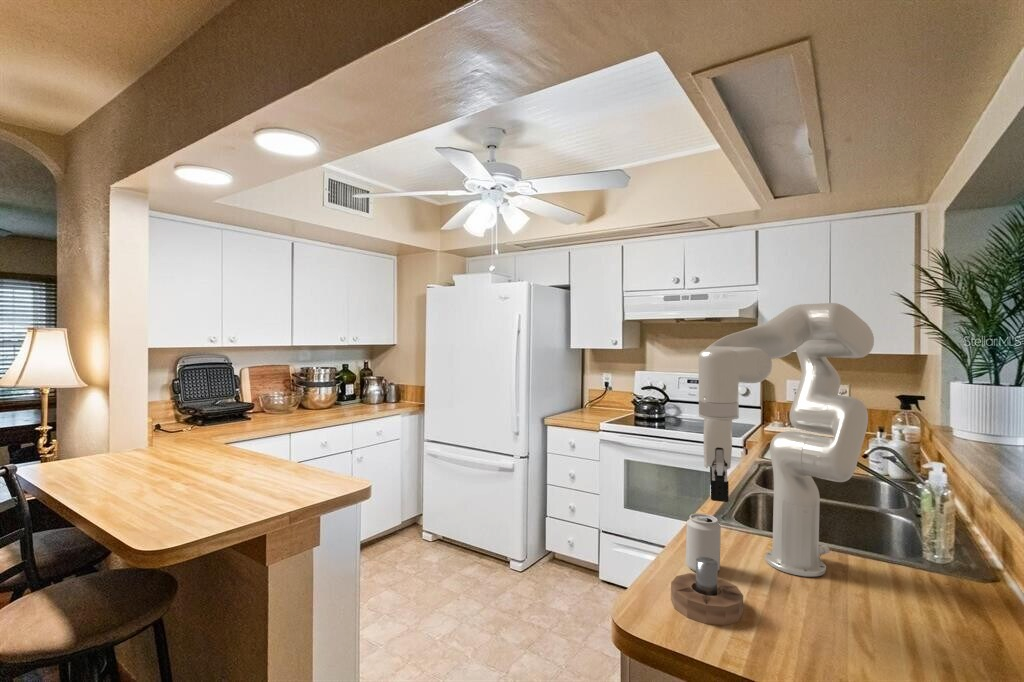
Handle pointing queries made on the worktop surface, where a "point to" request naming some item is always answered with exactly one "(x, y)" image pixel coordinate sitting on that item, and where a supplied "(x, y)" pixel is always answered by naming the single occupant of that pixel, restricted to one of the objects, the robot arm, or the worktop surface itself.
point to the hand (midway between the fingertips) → (718, 493)
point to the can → (702, 539)
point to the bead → (707, 601)
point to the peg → (706, 576)
